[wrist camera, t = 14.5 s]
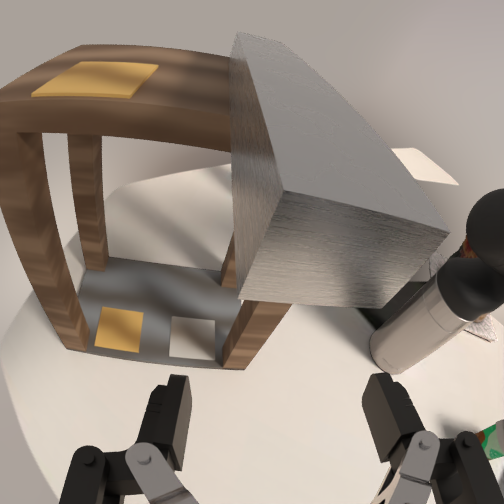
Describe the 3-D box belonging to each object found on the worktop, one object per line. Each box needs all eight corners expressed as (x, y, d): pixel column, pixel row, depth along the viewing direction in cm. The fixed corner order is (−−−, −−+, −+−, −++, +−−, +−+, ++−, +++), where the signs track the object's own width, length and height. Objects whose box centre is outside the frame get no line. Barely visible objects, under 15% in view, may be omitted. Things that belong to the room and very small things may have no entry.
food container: (459, 465, 32) (503, 450, 25) (463, 436, 36) (504, 417, 29) (491, 469, 31) (530, 455, 24) (494, 443, 35) (531, 427, 28)
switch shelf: (244, 370, 38) (385, 156, 15) (66, 349, 32) (-22, 101, 9) (238, 275, 49) (316, 78, 26) (92, 256, 43) (81, 43, 20)
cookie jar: (478, 280, 71) (543, 205, 49) (493, 348, 54) (581, 267, 31) (422, 246, 72) (489, 154, 50) (431, 316, 55) (532, 209, 32)
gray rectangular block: (381, 308, 8) (450, 232, 5) (237, 298, 7) (283, 189, 4) (271, 71, 24) (281, 42, 21) (228, 61, 23) (237, 31, 20)
